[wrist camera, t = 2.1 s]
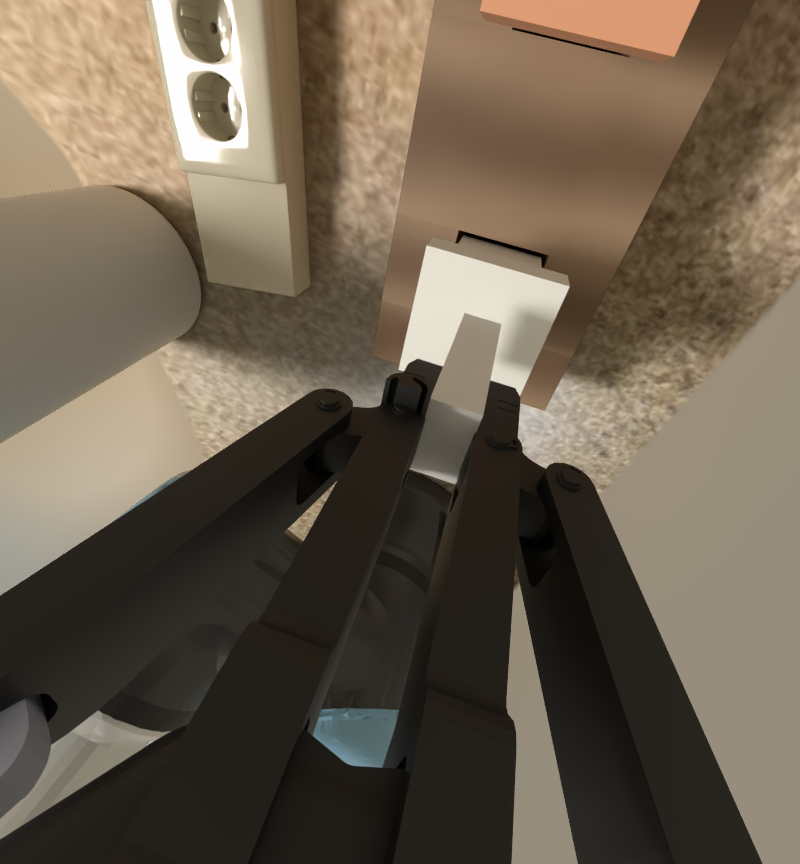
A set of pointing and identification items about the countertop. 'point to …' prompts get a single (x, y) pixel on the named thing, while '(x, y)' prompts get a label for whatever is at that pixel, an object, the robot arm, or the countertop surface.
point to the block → (542, 157)
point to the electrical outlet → (239, 134)
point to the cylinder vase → (84, 295)
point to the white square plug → (484, 304)
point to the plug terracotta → (601, 22)
